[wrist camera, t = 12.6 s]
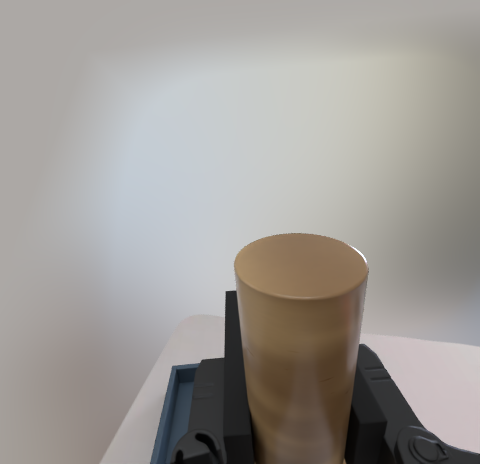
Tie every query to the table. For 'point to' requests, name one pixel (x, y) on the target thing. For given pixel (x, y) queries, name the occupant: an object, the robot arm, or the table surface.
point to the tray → (174, 412)
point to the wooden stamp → (300, 343)
